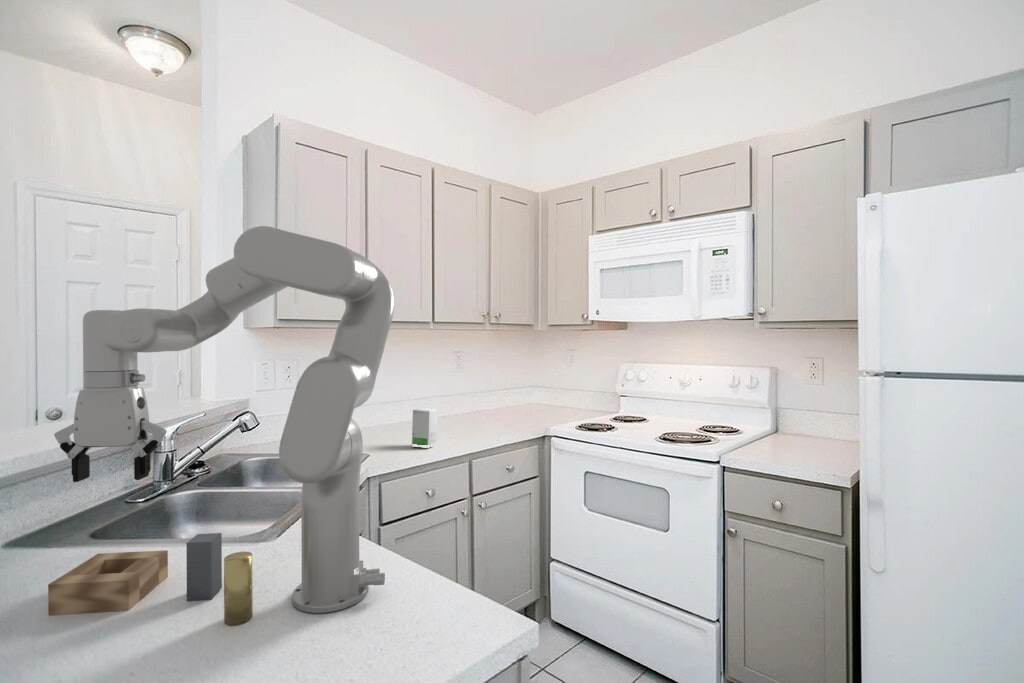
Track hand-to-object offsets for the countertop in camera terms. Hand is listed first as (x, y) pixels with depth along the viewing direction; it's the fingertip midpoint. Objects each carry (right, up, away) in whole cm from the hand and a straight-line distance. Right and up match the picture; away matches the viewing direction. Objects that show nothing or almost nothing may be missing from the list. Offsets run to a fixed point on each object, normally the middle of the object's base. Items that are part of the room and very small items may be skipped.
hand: (111, 478), depth 90 cm
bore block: (0, -20, 0) cm, 20 cm away
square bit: (+16, -20, 0) cm, 26 cm away
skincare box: (+34, -20, +121) cm, 128 cm away
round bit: (+26, -20, -8) cm, 34 cm away
